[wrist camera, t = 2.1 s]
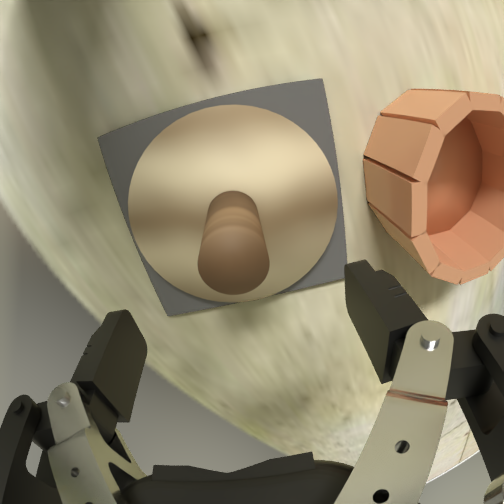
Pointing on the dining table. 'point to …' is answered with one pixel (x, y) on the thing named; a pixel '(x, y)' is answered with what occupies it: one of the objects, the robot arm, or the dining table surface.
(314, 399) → the dining table surface
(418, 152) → the bowl
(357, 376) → the dining table surface
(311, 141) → the lid
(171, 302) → the mat
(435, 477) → the dining table surface
